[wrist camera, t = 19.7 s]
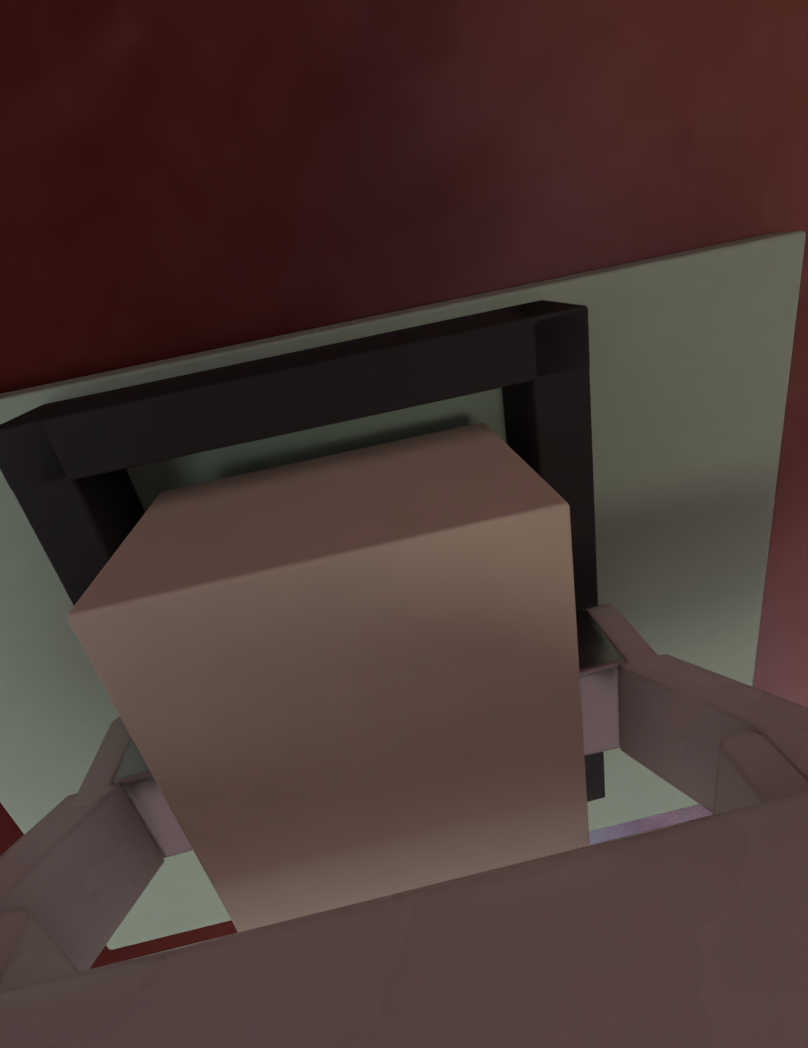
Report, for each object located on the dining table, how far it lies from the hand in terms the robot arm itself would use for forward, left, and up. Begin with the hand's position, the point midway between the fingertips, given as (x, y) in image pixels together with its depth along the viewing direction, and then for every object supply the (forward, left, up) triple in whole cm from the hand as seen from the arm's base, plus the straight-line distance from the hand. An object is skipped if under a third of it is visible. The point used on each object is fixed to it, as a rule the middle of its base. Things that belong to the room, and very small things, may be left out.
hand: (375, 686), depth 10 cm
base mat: (0, -2, -4) cm, 4 cm away
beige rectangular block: (0, 0, -2) cm, 2 cm away
